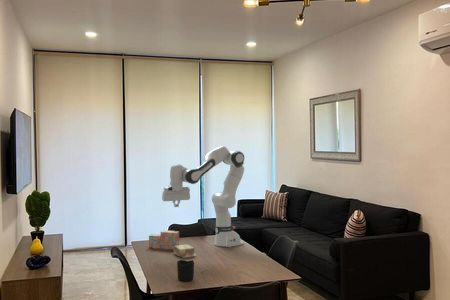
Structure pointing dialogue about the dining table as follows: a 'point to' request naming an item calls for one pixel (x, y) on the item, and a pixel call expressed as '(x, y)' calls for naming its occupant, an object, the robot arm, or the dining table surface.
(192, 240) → the dining table surface
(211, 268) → the dining table surface
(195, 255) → the felt mat
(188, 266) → the pen holder
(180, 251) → the oak block
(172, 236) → the stack of blocks
